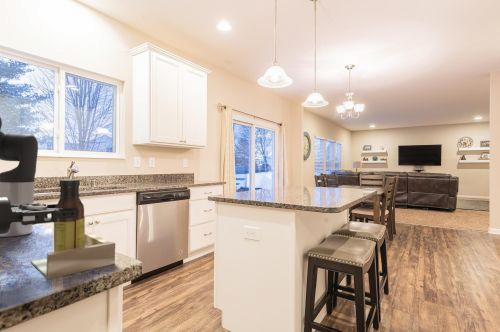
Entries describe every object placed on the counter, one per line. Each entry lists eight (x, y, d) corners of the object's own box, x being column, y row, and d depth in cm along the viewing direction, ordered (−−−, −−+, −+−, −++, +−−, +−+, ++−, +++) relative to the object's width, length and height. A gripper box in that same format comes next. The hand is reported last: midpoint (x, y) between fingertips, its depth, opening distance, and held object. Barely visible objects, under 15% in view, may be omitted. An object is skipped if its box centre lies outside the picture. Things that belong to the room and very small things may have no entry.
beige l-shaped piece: (31, 262, 66) (31, 241, 66) (91, 251, 77) (92, 232, 77) (48, 279, 57) (49, 255, 57) (114, 263, 68) (115, 243, 68)
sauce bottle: (78, 256, 71) (82, 178, 71) (88, 262, 67) (92, 180, 67) (48, 262, 66) (51, 178, 66) (56, 269, 62) (60, 180, 62)
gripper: (-17, 202, 49) (83, 197, 62) (-28, 195, 58) (62, 191, 71) (-19, 244, 49) (81, 230, 62) (-29, 230, 58) (60, 221, 71)
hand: (71, 209), depth 66 cm, fingers open, 8 cm apart
